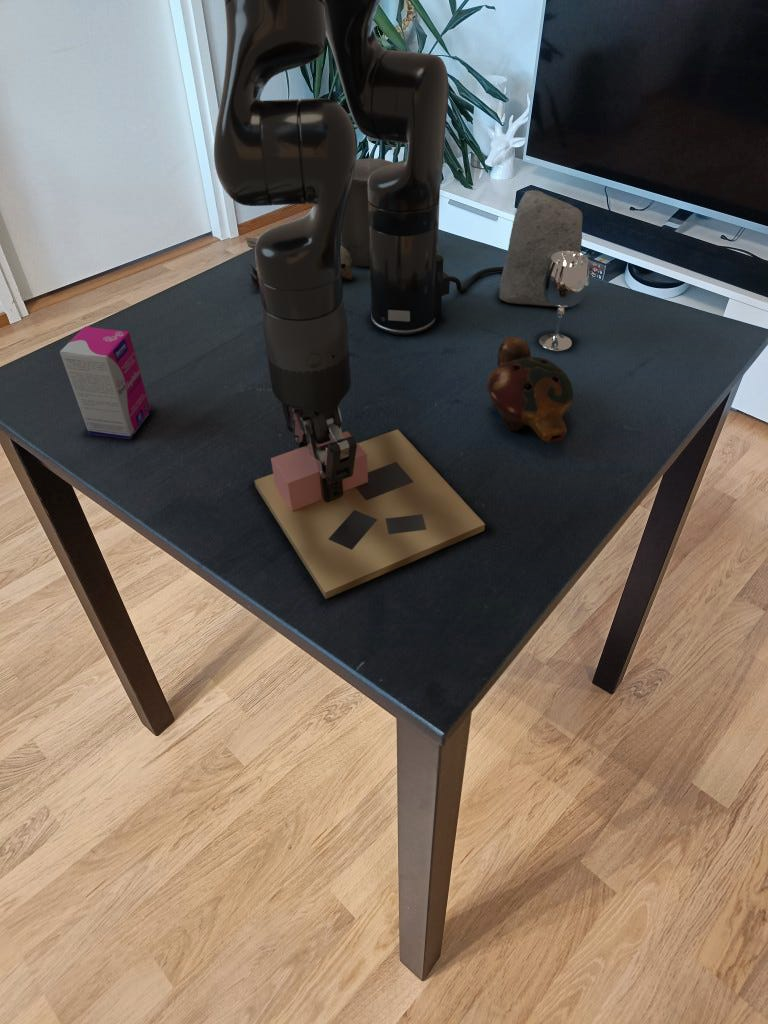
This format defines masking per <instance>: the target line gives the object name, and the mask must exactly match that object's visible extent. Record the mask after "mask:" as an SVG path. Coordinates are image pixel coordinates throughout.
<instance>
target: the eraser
mask: <svg viewBox="0 0 768 1024" xmlns="http://www.w3.org/2000/svg"><path fill="white" fill-rule="evenodd" d="M342 434H343V436H344V437H345V438H347V437H350V436H352V435H351V434H350V432H349V431H348V430H347V431H343V432H342ZM328 443H331V441H328V442H325V443H322V444H316V446H317V447H320V446H323V445H325V444H328ZM358 443H359V442H357V441H356V444H357V448H356V455H355V463H354V470H353V476H351V477H349V478H346V479H343V480H342V483H343V492H344V491H346V490H349V489H351V488H354V487H357V486H359V485H362V484H364V483H367V482H368V470H367V454H366V453H365V451H364V450H363V449H362V448H361V447H360V445H359V444H358ZM270 461H271V469H272V474H273V475H274V480H275V486H276V488H277V489H278V491H279V492H280V494H281V495H282V497H283V498H284V500H285V501H286V503H287V504H288V506H289V507H290V509H291V510H292V511H294V510H297V509H299V508H302V507H305V506H307V505H310V504H312V503H315V502H318V501H320V500H323V498H322V493H321V484H320V475H319V470H318V466H317V462H316V459H315V458H314V457H312V456H311V455H310V453H309V449H308V445H307V446H304V447H301V448H299V447H298V448H295V449H293V450H290V451H287V452H285V453H284V452H283V453H282V454H279V455H276V456H274V457H271V458H270ZM324 461H325V465H326V463H327V456H326V457H325V458H324Z"/></svg>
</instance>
